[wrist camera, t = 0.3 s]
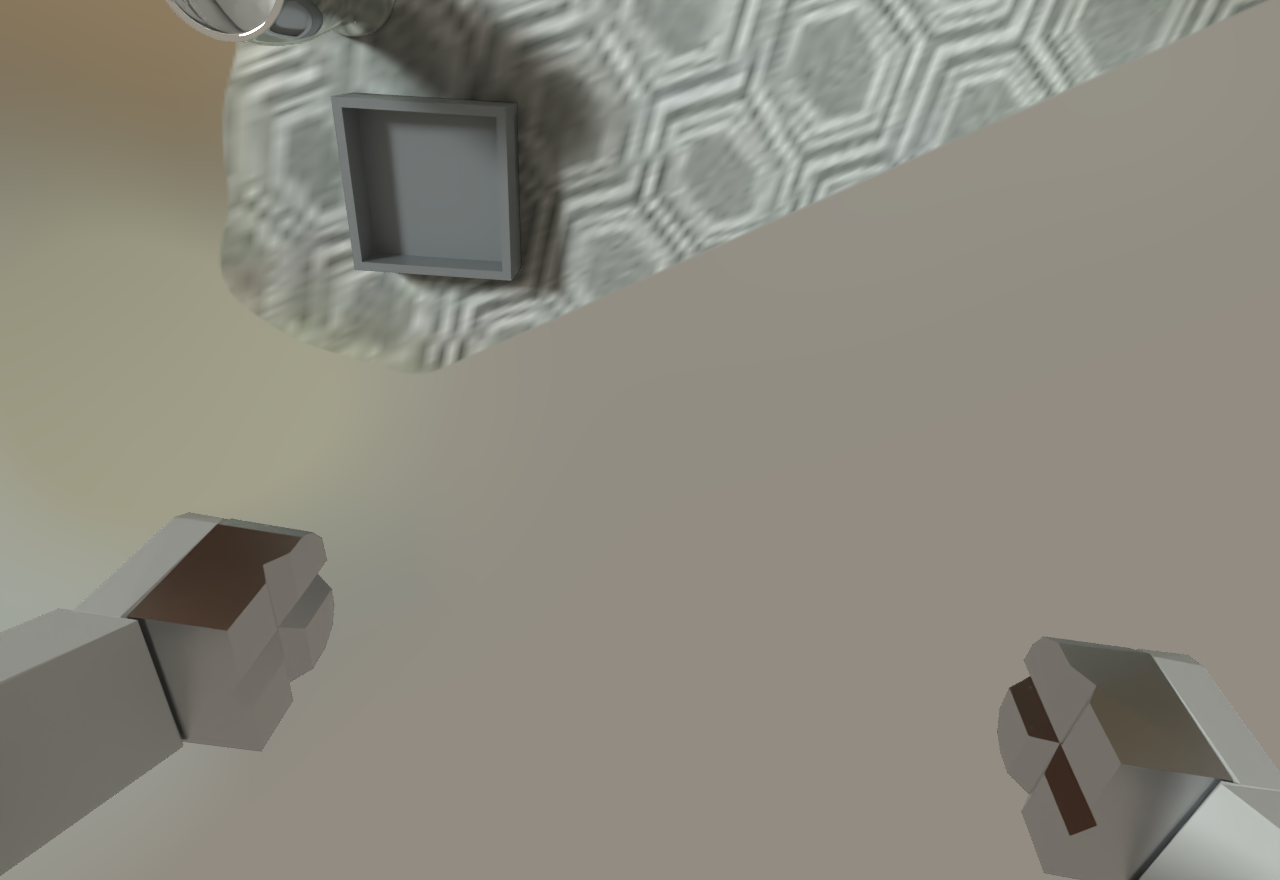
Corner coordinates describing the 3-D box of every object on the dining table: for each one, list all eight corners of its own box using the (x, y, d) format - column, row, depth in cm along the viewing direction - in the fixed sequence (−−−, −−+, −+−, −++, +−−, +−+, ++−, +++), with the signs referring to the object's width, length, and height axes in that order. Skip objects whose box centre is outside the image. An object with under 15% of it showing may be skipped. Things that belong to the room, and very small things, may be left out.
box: (352, 92, 50) (330, 96, 47) (516, 102, 49) (505, 107, 46) (373, 256, 55) (354, 269, 52) (521, 267, 55) (511, 280, 52)
